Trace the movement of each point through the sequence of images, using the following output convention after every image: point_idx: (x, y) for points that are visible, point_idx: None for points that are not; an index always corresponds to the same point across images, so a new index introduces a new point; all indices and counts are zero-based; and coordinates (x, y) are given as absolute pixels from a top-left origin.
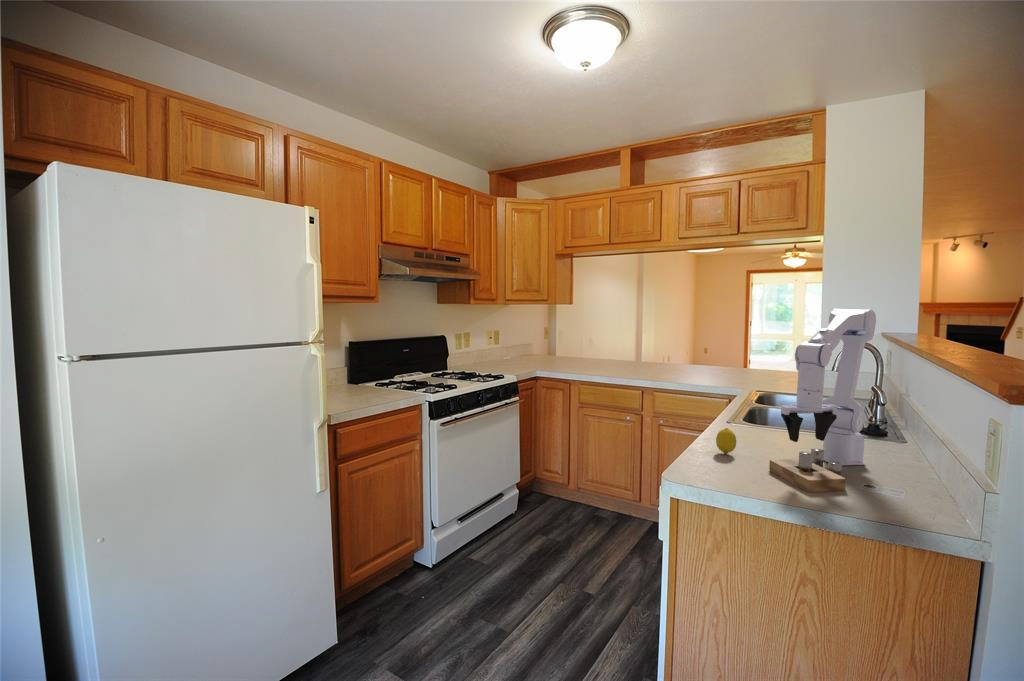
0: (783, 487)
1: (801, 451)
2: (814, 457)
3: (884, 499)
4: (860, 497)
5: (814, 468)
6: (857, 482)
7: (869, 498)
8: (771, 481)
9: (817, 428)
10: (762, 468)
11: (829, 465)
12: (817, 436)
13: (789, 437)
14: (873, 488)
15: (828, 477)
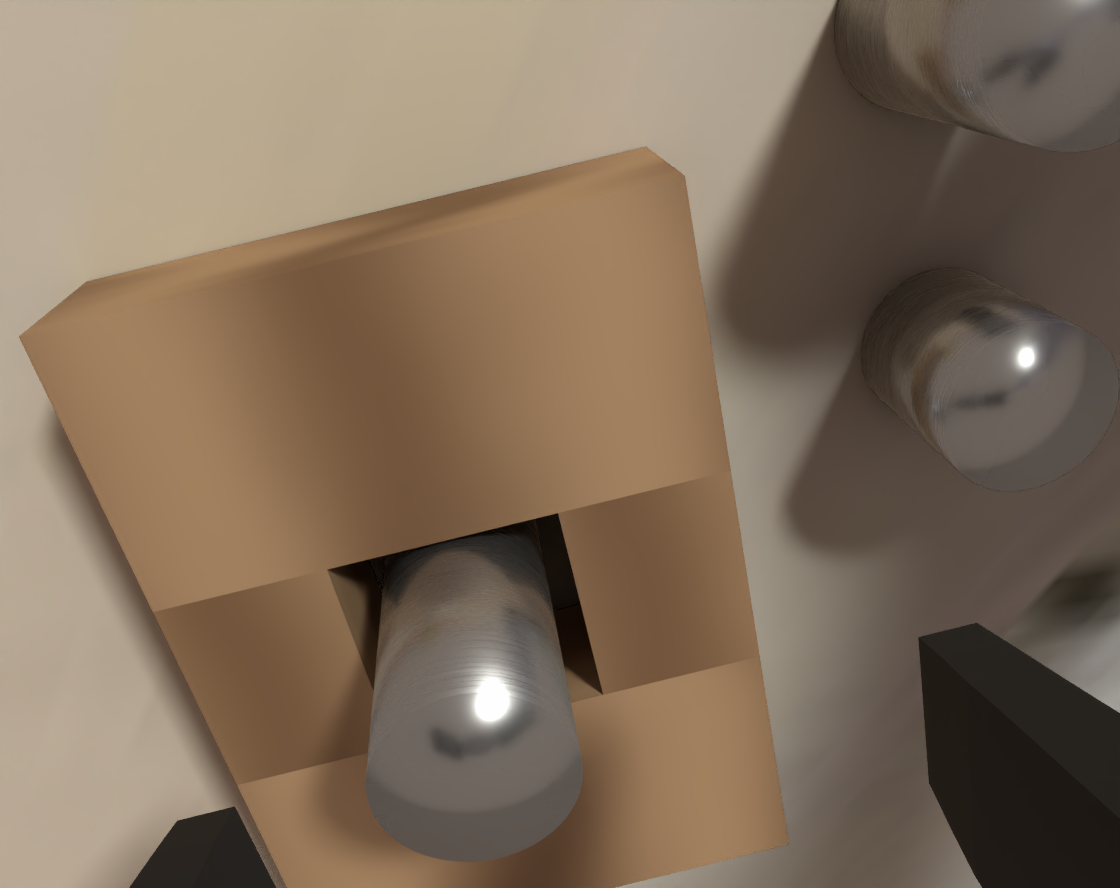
0: (116, 779)
1: (441, 704)
2: (927, 91)
3: (960, 853)
4: (779, 854)
5: (605, 600)
6: (1051, 516)
7: (844, 858)
8: (20, 647)
9: (1097, 873)
10: (4, 180)
11: (925, 417)
12: (954, 718)
13: (145, 876)
14: (1080, 646)
15: (601, 850)
